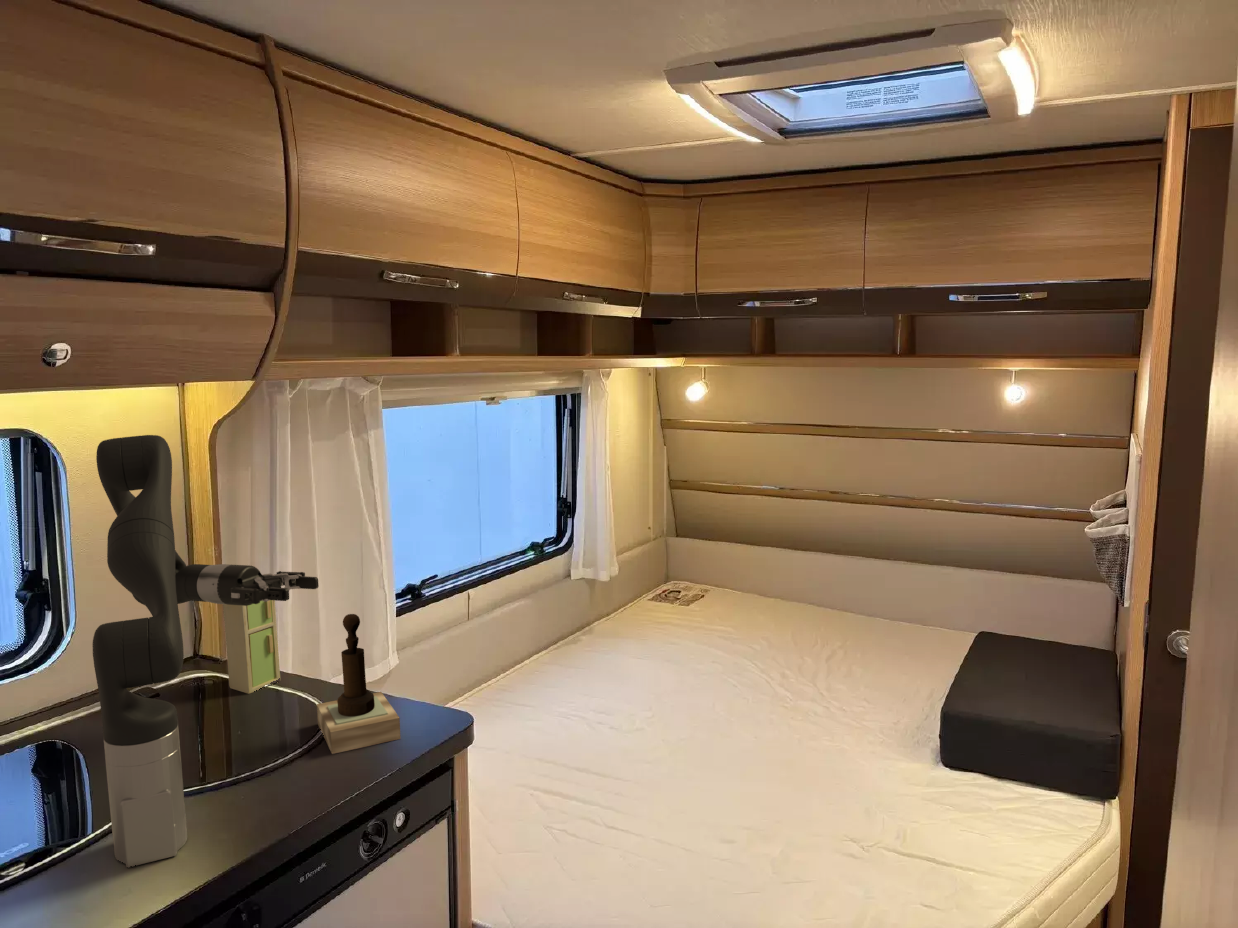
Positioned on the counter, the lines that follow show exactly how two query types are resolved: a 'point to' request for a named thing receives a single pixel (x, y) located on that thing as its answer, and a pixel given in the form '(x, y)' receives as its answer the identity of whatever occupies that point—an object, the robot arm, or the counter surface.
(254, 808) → the counter surface
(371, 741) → the birch pedestal
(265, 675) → the toy refrigerator
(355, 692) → the dark brown pepper mill
